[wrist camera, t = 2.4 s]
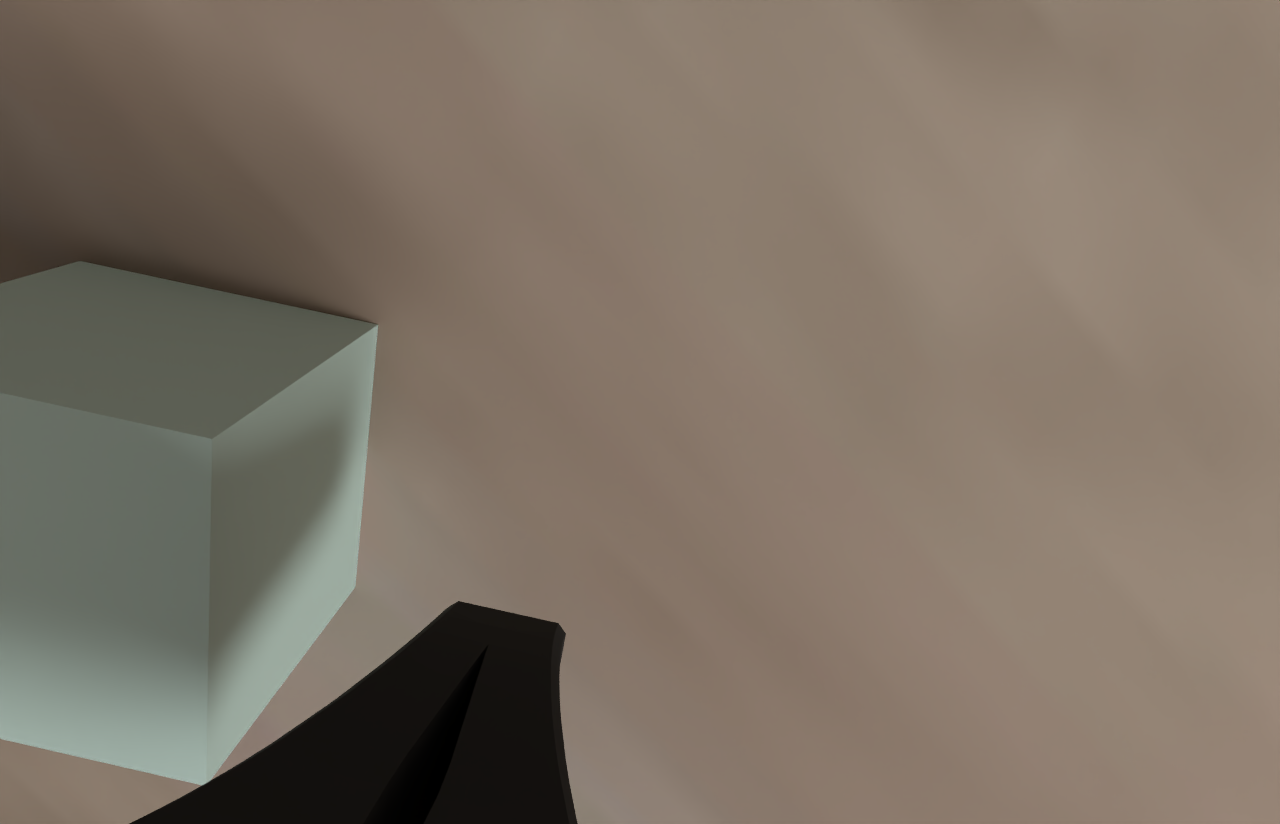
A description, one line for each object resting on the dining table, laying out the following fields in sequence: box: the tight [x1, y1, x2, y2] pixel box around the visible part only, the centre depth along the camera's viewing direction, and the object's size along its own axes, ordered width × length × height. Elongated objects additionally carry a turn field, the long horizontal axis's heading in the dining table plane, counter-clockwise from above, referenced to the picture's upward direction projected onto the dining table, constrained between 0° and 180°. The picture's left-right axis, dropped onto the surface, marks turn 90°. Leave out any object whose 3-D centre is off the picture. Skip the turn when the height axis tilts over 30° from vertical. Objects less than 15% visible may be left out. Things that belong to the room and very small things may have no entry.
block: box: [0, 261, 378, 785], centre depth 13 cm, size 5×5×5 cm
